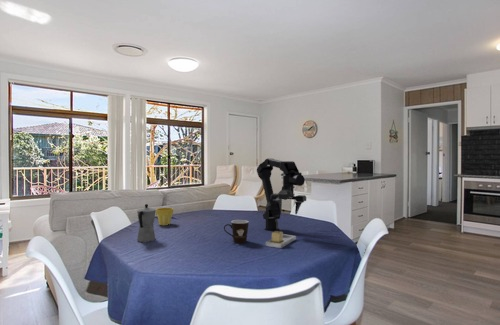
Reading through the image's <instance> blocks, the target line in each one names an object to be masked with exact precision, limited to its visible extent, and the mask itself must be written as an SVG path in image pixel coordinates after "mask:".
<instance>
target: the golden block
mask: <svg viewBox="0 0 500 325" xmlns="http://www.w3.org/2000/svg"><path fill="white" fill-rule="evenodd" d="M283 234H284V232H283V231H278V230H275V231H271V239H272V242H274V243H281V242H283Z"/></svg>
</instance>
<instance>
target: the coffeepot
mask: <svg viewBox="0 0 500 325" xmlns="http://www.w3.org/2000/svg"><path fill="white" fill-rule="evenodd" d="M148 206H149V204H147V203H146V204H145V205H144V207H143V208H140V209H137V210H136V211H137V212H136V213H137V219H138V224H139V227H138V232H137V238H136V241H137V242H138V243H148V242H154V241H155V240H156V235H155V234H156V233H155V229H154V223H155V218H156V209H155V208H150V207H148Z"/></svg>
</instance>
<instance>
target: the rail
mask: <svg viewBox="0 0 500 325" xmlns="http://www.w3.org/2000/svg"><path fill="white" fill-rule="evenodd" d="M296 239H297V235H292V234H285V233H283V242H281V243H274V242H272V238H270V239H268V240H267V241H265V247H270V248H271V247H272V248H276V249H283V248H284V247H285V246H288V245H289V244H291V243H292V242H294V241H296Z"/></svg>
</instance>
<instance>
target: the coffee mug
mask: <svg viewBox="0 0 500 325" xmlns="http://www.w3.org/2000/svg"><path fill="white" fill-rule="evenodd" d="M223 226H224V227H223V230H224V232H225V233H226V234H227V235H229V236H231V237H232V241H233V243H235V244H246V242H247V239H248V231H249V220H246V219H234V220H231V224H229V223H228V224H227V223H226V224H225V225H223ZM227 226H229V227H230V228H231V230H232V233H229V232H228V231H227V230H226V227H227Z"/></svg>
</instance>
